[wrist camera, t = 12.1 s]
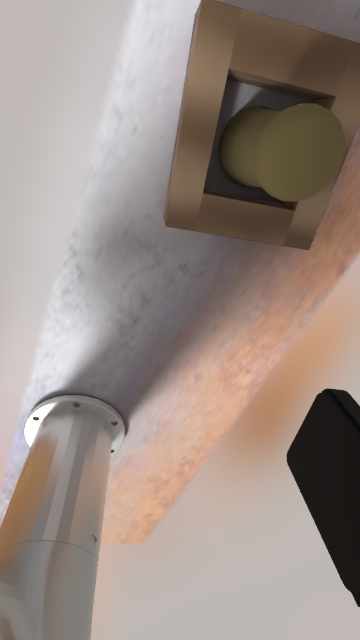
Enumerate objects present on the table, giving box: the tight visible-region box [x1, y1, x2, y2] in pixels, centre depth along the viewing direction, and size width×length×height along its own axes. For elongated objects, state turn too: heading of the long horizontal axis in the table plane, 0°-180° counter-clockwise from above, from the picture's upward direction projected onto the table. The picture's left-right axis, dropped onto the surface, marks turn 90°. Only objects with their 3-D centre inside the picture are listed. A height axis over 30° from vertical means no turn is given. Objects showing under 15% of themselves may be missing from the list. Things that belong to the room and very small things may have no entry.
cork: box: [218, 103, 345, 201], centre depth 22 cm, size 6×6×11 cm
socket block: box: [164, 0, 360, 250], centre depth 25 cm, size 14×13×4 cm
